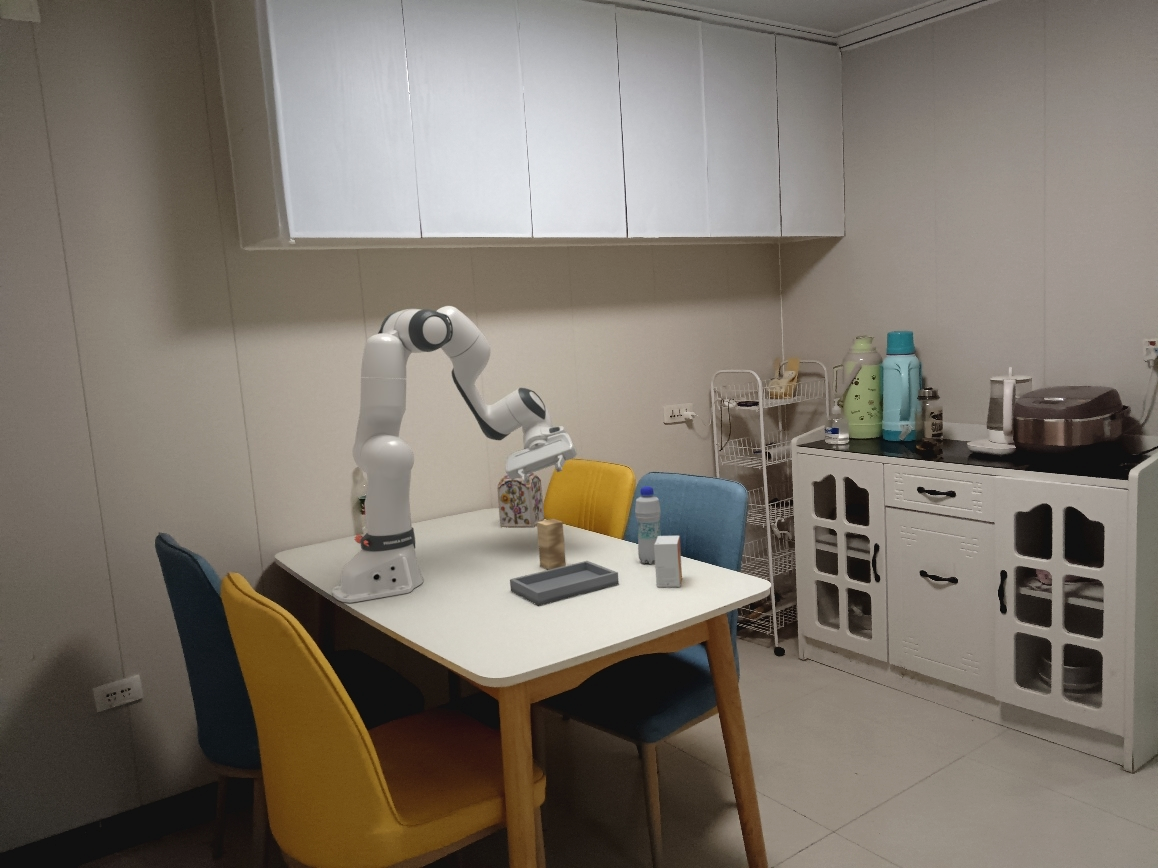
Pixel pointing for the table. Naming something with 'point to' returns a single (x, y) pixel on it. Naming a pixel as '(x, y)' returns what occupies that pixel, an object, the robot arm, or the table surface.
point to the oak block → (551, 544)
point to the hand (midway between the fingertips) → (542, 475)
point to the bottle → (647, 523)
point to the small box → (668, 561)
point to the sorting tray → (563, 582)
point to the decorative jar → (520, 501)
